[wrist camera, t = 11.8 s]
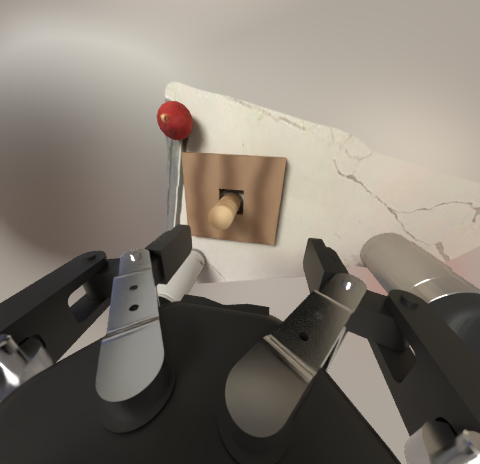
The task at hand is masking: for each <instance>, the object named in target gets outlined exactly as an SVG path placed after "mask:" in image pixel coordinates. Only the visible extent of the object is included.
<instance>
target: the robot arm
mask: <svg viewBox="0 0 480 464" xmlns="http://www.w3.org/2000/svg"><path fill="white" fill-rule="evenodd" d="M191 251H192V238H191V228H190V226H189V225H180V224H178V225H177V226H176V227H174V228H173V229H172V230H170V231H167V232H165V233H163V234H162V235H161V236H159V238H157V239H156V240H155V241H153V242H152V243H151V244H149V245H148V246H147V247H146V248H145V249H133V250H130V251H127V252H125V253H124V254H122V256H121V257H120V258H117V259H107V256H106V253H105V252H103V251H91V252H87V253H84V254H81V255H79V256H77V257H76V258H74V259H72V260H71V261H69V262H68V263H66V264H64V265H63V266H61V267H59V268H58V269H56V270H54V271H53V272H51V273H49V274H48V275H46V276H44V277H43V278H41V279H40V280H38V281H36V282H35V283H33V284H31V285H30V286H28V287H26V288H25V289H23V290H21V291H20V292H18V293H16V294H15V295H13V296H12V297H10V298H8V299H7V300H5V301H3V302H2V303H0V464H401V463H400V462H399V460H398V459H397V457H396V456H395V455H394V454H393V452H392V451H391V450H390V448H389V447H388V446H387V445H386V444H385V442H384V441H383V440H382V439H381V437H380V436H379V435H378V434H377V433H376V431H375V430H374V429H373V428H372V426H371V425H370V424H369V423H368V422H367V420H366V419H365V418H364V417H363V416H362V415H361V413H360V412H359V411H358V409H357V408H356V407H355V406H354V405H353V403H352V402H351V401H350V400H349V398H348V397H347V396H346V395H345V394H344V392H343V391H342V390H341V389H340V387H339V386H338V385H337V384H336V383H335V381H333V379H332V378H331V377H330V375H329V374H328V373H327V371H328V369H329V367H330V365H331V362H332V361H333V359H334V357H335V355H336V353H337V351H338V349H339V348H340V346H341V344H342V342H343V340H344V338H345V336H346V335H347V333H348V331H350V332H352V333H355V334H357V335H359V336H362V337H364V338H367V339H368V341H369V343H370V346H371V348H372V350H373V352H374V355H375V357H376V359H377V362H378V364H379V366H380V369H381V371H382V373H383V375H384V378H385V380H386V383H387V385H388V387H389V389H390V392H391V394H392V396H393V399H394V401H395V403H396V406H397V408H398V410H399V412H400V415H401V417H402V419H403V422H404V424H405V426H406V428H407V431H408V433H409V435H410V438H409V439H408V440H407V441H406V443H405V457H406V460H407V464H480V290H479V289H478V288H477V287H475V286H474V285H473V284H471V283H470V282H468V281H466V280H465V279H464V278H462V277H461V276H459V275H458V274H456V273H455V272H453V271H452V269H451V268H450V267H449V266H447V265H446V264H444V263H443V262H441V261H440V260H438V259H437V258H435V257H434V256H433V255H431V254H430V253H428V252H427V251H425V250H424V249H422V248H421V247H419V246H418V245H416V244H415V243H413V242H410V241H408V240H407V239H405V238H404V237H402V236H401V235H398V234H393V233H386V234H381V235H378V236H375V237H374V238H372V239H370V240H369V241H368V242H367V243H366V244H365V245H364V247H363V248H362V251H361V259H362V261H363V263H364V264H365V265H366V266H367V268H368V269H369V270H370V271H371V273H372V274H373V275H374V276H375V278H376V279H377V280H378V281H379V283H380V284H381V285H382V287H383V288H384V289H385V290H386V292H387V293H388V296H384V295H381V294H378V293H374V292H372V291H369V290H367V287H366V284H365V283H364V282H363V281H362V280H360V279H359V278H357V277H355V276H353V275H350V274H349V273H348V271H347V269H346V268H345V266H344V265H343V263H342V261H341V260H340V258H339V256H338V255H337V253H336V252H335V251H334V250H333V249H331V248H330V247H326V246H325V244H324V242H323V240H322V239H316V238H309V239H308V242H307V246H306V250H305V255H304V260H303V268H304V272H305V276H306V279H307V283H308V287H309V290H310V295H309V296H308V297H307V298H306V299H305V300H304V301H303V302H302V303H301V304H300V305H299V306H298V307H297V308H296V309H295V310H294V311H293V312H292V313H291V314H290V315H289V316H288V317H287V318H286V319H285V320H284V321H281V320H279V319H278V318H276V317H274V316H272V315H269V307H265V306H258V305H251V304H237V305H222V304H220V303H217V302H215V301H212V300H210V299H207V298H204V297H198V296H192V295H185V294H184V296H183V298H182V299H181V301H175V302H170V303H167V304H164V305H161V306H160V303H159V298H158V292H157V287H156V286H157V285H158V284H164V285H167V284H168V282H169V281H170V280H171V278H172V277H173V276H174V274H175V273H176V272H177V271H178V269H179V268H180V267H181V265H182V264H183V263H184V261H185V260H186V259H187V257H188V256H189V255H190V253H191ZM81 285H83V287H84V289H85V291H86V294H85V295H84V296H83V297H82V298H80V299H79V300H78V301H77V302H76V303H75V304H73V305H72V306H71V307H69V305H68V298H69V296H70V295H71V294H72V293H73V292H74V291H75V290H76V289H78V288H79V287H80V286H81ZM108 306H110V311H109V319H108V326H107V333H106V336H104V337H102V338H101V339H99V340H97V341H95V342H94V343H91V344H90V345H88V346H86V347H84V348H82V349H81V350H79V351H77V352H75V353H74V354H72V355H70V356H68V357H67V358H64V359H63V360H61V361H59V362H57V361H58V360H59V359H60V358H61V357H62V355H63V354H64V353H65V352H66V351H67V350H68V349H69V348H70V347H71V346H72V345H73V344H74V343H75V342H76V341H77V340H78V338H79V337H80V336H81V335H82V334H83V333H84V332H85V331H86V330H87V329H88V328H89V327H90V326H91V325H92V324H93V323H94V321H95V320H96V319H97V318H98V317H99V316H100V315H101V314H102V313H103V312H104V311H105V310H106V309H107V307H108ZM409 345H411V347H412V349H413V350H414V353H415V355H414V353H413V352H412V350H411V349H410V347H409ZM415 356H416V357H415ZM56 362H57V363H56Z"/></svg>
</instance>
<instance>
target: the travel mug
mask: <svg viewBox="0 0 480 464" xmlns="http://www.w3.org/2000/svg"><path fill="white" fill-rule="evenodd" d="M205 262H206V259H205V256H204V255H203V253H202V252H200V251H199V250H196V249H192V251H191V253H190V255H189V256H188V257H187V259H186V260H185V261H184V263H183V264H182V265H181V267H180V268H179V269H178V271H177V272H176V273H175V274H174V276H173V277H172V278H171V280H170V281H169V282H168V284H167V285H164V284H158V286H157V292H158V298H159V303H160V306H161V305H164V304H167V303H170V302H175V301H181V299H182V298H183V296H184V294H185V295H188V294H189V292H190V290H191V288H192V286H193V285H194V283H195V281H196V279H197V277H198V276H199V274H200V272H201V270H202V268H203V266H204V265H205Z"/></svg>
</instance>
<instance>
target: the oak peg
mask: <svg viewBox="0 0 480 464" xmlns="http://www.w3.org/2000/svg"><path fill="white" fill-rule="evenodd" d="M240 206H241V197H240V196H239V194H238V193H236V192H228V193H226V194H225V195H224V196H223V197H222V198H221V199H220V200H219V202H218V203H217V204H216V205H215V206H214V207H213V208H212V209H211V210H210V212H209V214H208V220H209V223H210V224H211V225H212V226H213V227H214V228H216V229H219V230H224V229H227V228H228V227H229V226H230V225H231V223H232V221H233V219H234V217H235V215H236V213H237V211H238V209H239V208H240Z"/></svg>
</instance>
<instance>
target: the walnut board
mask: <svg viewBox="0 0 480 464" xmlns="http://www.w3.org/2000/svg"><path fill="white" fill-rule="evenodd" d="M181 154H182V165H183V176H184V188H185V199H186V210H187V222H188V225H189V226H190V228H191V236H198V237H207V238H216V239H225V240H234V241H243V242H252V243H261V244H270V245H274V242H275V235H276V228H277V222H278V215H279V208H280V201H281V194H282V187H283V180H284V173H285V166H286V159H287V158H285V157H267V156H249V155H231V154H213V153H195V152H181ZM222 189H231V190H243V191H244V203H243V211H237V213H236V215H235V217H234V219H233V221H232V223H231V225H230V226H229V227H228V228H227V229H224V230H219V229H216V228H214V227H213V226H212V225H211V224H210V223H209V220H208V214H209V212H210V210H211V209H212V208H213V207H214V206H215V205H216V204H217V203H218V202H219V200H220V199H221V198H222Z"/></svg>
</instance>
